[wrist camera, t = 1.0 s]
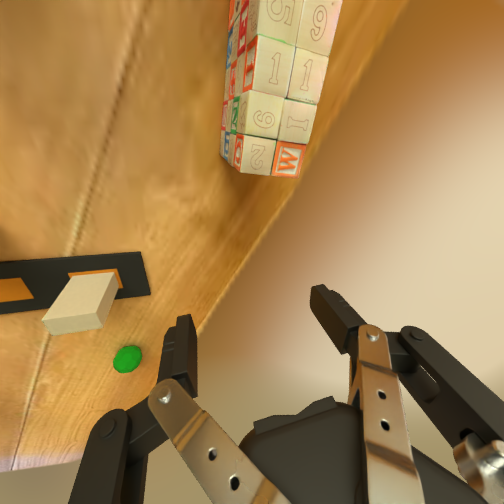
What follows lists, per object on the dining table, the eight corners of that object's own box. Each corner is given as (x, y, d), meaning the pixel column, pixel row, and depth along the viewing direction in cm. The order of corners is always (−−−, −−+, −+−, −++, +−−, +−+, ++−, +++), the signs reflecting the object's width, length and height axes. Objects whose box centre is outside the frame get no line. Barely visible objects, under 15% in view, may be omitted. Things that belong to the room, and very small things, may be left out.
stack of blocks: (235, -114, 17) (307, -425, 7) (298, -78, 19) (420, -286, 9) (219, 155, 28) (239, 174, 18) (260, 161, 30) (299, 180, 20)
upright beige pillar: (72, 275, 30) (40, 320, 24) (114, 271, 32) (95, 312, 25) (80, 291, 32) (52, 337, 25) (119, 286, 34) (103, 328, 27)
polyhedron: (122, 339, 41) (116, 361, 37) (147, 342, 43) (143, 364, 40) (113, 354, 42) (106, 377, 38) (137, 356, 45) (133, 378, 41)
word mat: (-43, 317, 30) (-47, 321, 29) (-92, 268, 25) (-99, 271, 24) (150, 292, 37) (150, 295, 36) (140, 251, 32) (139, 253, 32)
